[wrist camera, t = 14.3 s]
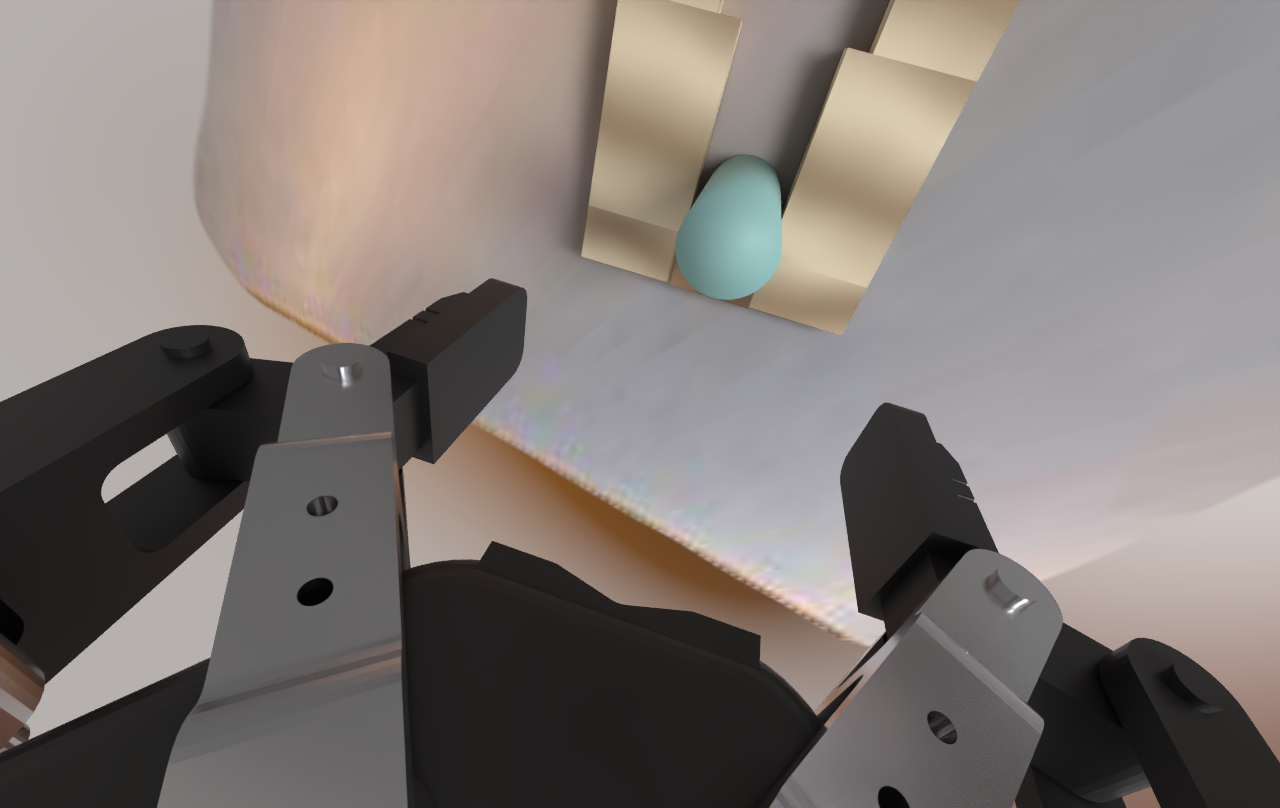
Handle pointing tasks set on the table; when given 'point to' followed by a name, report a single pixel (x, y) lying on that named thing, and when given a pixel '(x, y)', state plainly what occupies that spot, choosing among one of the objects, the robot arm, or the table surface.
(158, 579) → the robot arm
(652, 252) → the keyhole board
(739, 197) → the peg
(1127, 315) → the table surface
